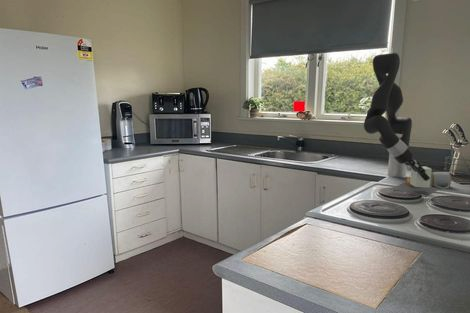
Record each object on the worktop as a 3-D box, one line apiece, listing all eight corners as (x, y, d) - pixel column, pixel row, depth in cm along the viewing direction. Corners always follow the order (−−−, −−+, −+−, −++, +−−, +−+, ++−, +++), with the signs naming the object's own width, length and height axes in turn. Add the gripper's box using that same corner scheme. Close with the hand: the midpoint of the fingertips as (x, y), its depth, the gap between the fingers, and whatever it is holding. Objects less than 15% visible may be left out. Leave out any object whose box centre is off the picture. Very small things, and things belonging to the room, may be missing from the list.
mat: (405, 183, 167) (405, 182, 167) (440, 189, 156) (440, 188, 156) (389, 189, 154) (389, 188, 154) (426, 197, 142) (426, 195, 142)
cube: (409, 186, 159) (410, 178, 158) (406, 184, 162) (407, 176, 162) (418, 187, 158) (419, 178, 158) (414, 185, 162) (415, 177, 161)
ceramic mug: (426, 184, 167) (428, 169, 165) (444, 185, 165) (446, 170, 163) (434, 189, 156) (435, 174, 155) (453, 191, 155) (455, 175, 153)
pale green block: (415, 186, 147) (417, 168, 146) (409, 183, 153) (411, 165, 151) (429, 187, 146) (431, 168, 145) (423, 184, 152) (425, 166, 151)
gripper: (413, 147, 141) (439, 175, 141) (400, 143, 155) (424, 169, 155) (398, 158, 142) (424, 187, 142) (387, 154, 156) (411, 180, 156)
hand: (424, 177), depth 149 cm, fingers closed on pale green block, 6 cm apart
